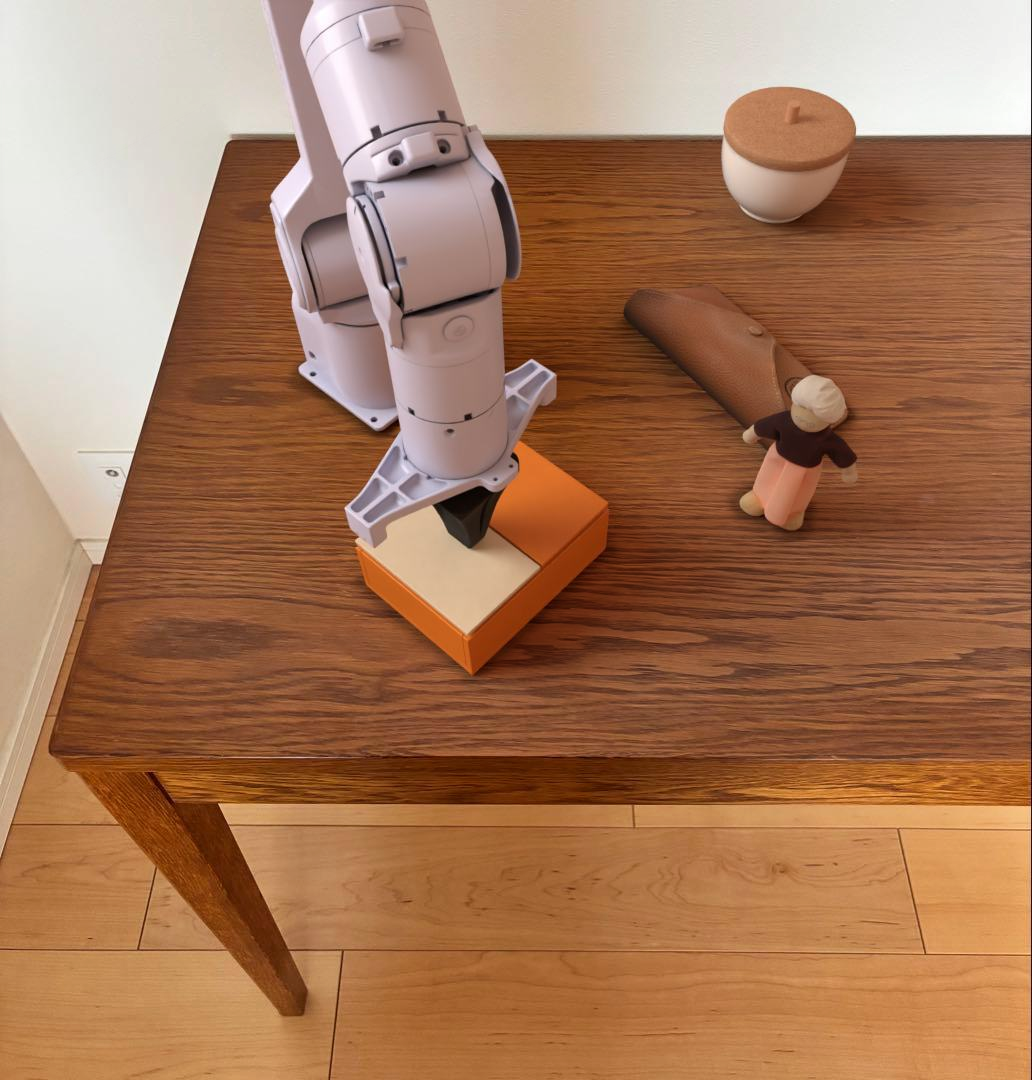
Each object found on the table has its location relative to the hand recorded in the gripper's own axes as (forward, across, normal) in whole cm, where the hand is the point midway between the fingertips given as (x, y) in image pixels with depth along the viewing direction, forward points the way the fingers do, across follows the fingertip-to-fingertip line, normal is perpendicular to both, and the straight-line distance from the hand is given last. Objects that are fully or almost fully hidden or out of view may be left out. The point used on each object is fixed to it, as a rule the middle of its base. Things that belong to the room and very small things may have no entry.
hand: (466, 534), depth 61 cm
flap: (0, -2, 0) cm, 2 cm away
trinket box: (+6, +46, +8) cm, 48 cm away
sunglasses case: (+6, +27, -2) cm, 28 cm away
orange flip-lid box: (+5, +2, 0) cm, 6 cm away
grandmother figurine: (+6, +18, -12) cm, 23 cm away
